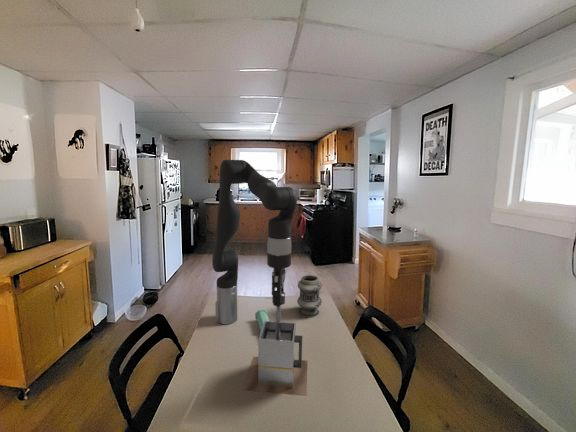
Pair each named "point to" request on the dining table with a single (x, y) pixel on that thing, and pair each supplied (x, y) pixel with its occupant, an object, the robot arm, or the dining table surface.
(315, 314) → the apothecary jar
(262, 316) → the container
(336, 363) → the dining table surface
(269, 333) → the plunger
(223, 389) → the dining table surface
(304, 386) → the walnut board
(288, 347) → the square mug
